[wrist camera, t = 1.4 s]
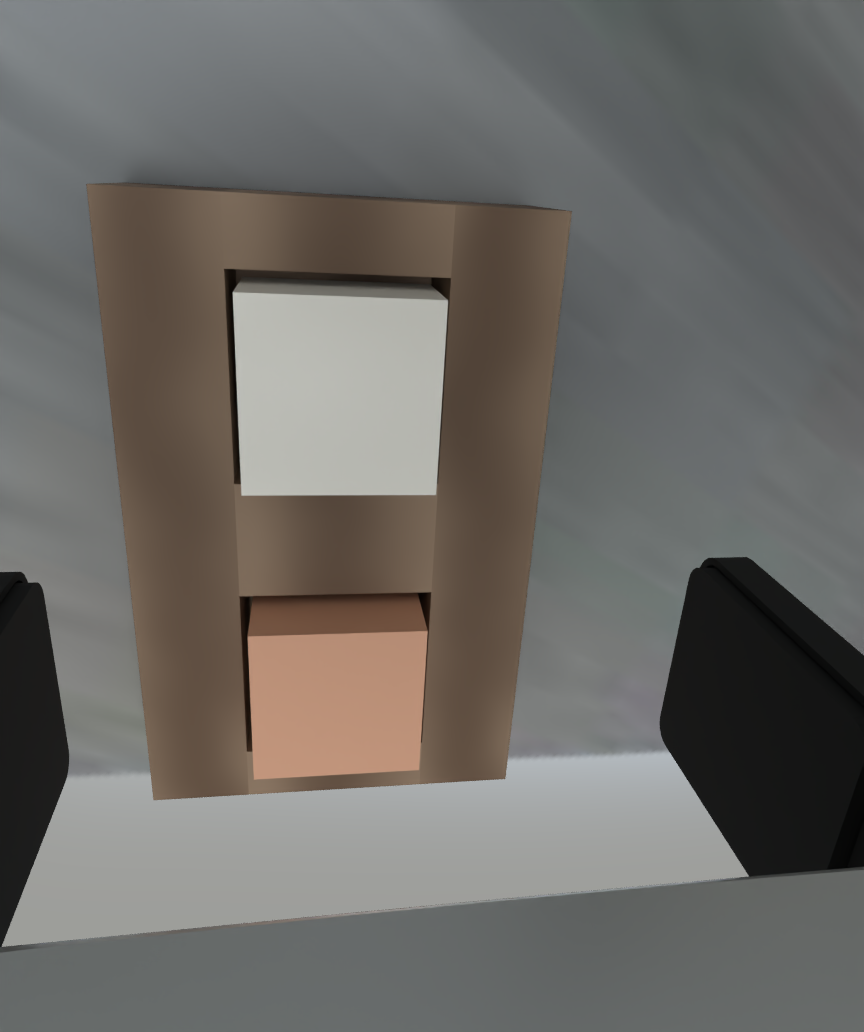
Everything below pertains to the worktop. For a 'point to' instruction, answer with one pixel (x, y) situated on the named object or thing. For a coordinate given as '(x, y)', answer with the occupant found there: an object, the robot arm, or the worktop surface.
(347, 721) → the terracotta key
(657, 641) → the worktop surface
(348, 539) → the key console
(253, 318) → the offwhite key
